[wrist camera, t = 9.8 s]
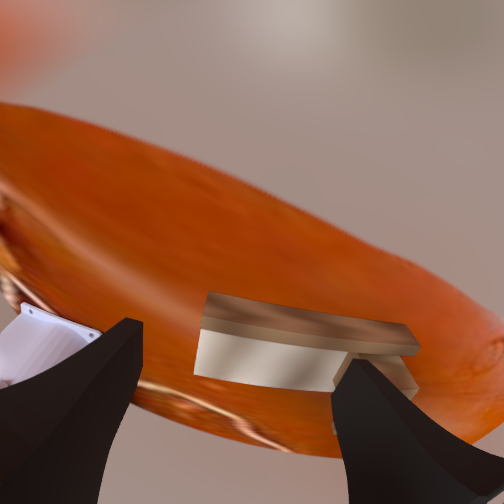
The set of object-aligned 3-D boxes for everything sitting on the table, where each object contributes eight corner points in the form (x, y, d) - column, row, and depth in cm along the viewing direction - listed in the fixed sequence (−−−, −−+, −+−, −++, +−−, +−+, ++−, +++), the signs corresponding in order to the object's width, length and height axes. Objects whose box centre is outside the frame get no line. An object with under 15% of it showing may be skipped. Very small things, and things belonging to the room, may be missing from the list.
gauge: (313, 410, 22) (322, 455, 17) (352, 342, 19) (374, 390, 15) (351, 411, 22) (364, 452, 18) (393, 346, 20) (419, 389, 15)
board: (195, 363, 21) (190, 390, 19) (208, 291, 19) (202, 315, 16) (370, 384, 23) (379, 406, 20) (405, 324, 20) (421, 346, 18)
